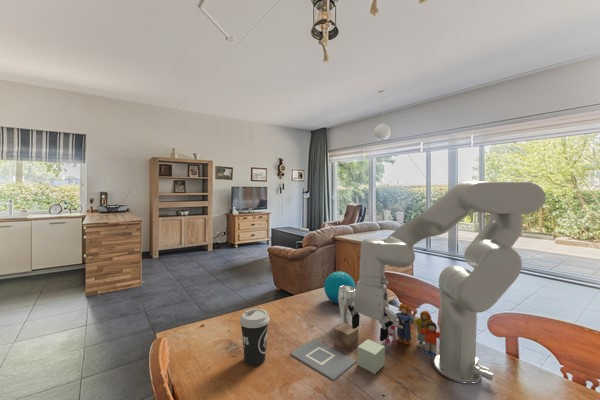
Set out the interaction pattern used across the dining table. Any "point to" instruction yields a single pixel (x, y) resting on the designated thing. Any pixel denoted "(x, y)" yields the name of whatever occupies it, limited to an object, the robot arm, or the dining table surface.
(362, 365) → the sage block
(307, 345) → the felt mat
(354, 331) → the walnut block
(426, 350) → the doll family
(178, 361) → the dining table surface
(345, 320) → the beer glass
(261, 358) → the coffee cup
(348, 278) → the decorative orb
